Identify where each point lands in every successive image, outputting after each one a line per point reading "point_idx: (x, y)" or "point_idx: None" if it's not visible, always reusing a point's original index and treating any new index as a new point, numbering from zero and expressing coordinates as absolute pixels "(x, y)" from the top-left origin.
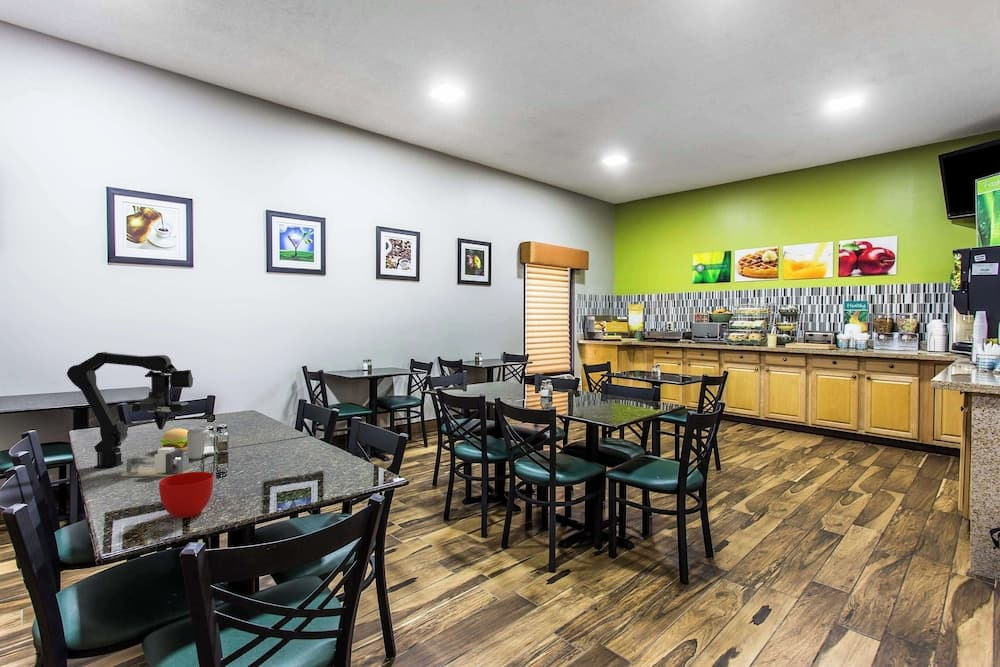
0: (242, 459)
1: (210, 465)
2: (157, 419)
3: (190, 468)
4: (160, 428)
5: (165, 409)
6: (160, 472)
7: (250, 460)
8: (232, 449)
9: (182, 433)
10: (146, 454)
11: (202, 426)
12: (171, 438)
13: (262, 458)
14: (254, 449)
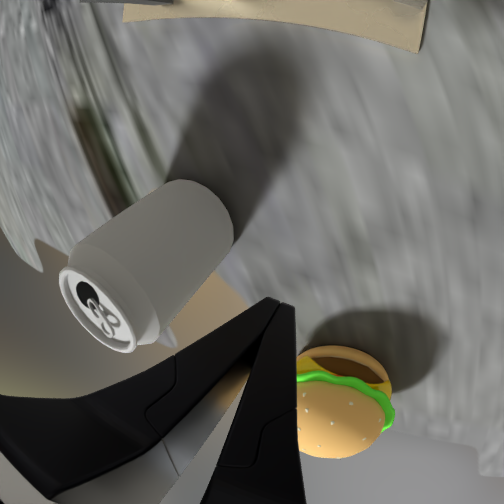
0: (58, 155)
1: (98, 78)
2: (236, 421)
3: (128, 6)
4: (266, 304)
5: (8, 485)
6: None
7: (40, 140)
8: None
9: None
10: (445, 349)
11: (103, 340)
12: (335, 397)
13: (31, 159)
14: None
